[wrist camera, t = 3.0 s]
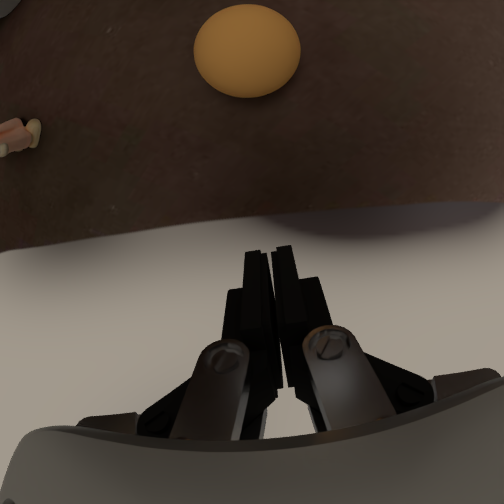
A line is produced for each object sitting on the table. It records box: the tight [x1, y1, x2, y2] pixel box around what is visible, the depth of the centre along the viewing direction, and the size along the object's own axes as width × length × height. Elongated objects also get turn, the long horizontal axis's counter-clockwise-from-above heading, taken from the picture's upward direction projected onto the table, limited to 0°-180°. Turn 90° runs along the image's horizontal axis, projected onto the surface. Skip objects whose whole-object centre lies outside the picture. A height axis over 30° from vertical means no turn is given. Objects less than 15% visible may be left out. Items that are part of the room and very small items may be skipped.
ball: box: [194, 4, 301, 98], centre depth 13 cm, size 6×6×6 cm
